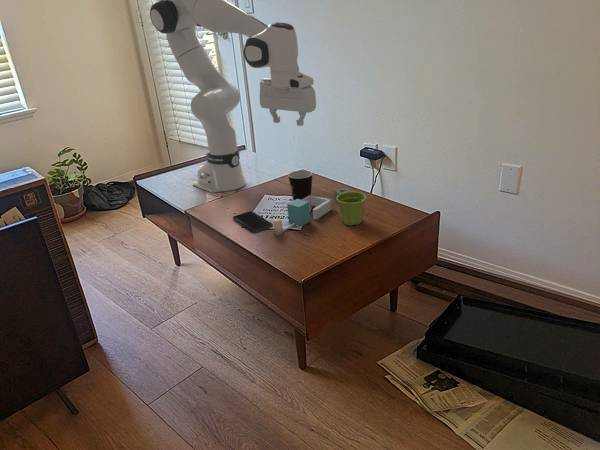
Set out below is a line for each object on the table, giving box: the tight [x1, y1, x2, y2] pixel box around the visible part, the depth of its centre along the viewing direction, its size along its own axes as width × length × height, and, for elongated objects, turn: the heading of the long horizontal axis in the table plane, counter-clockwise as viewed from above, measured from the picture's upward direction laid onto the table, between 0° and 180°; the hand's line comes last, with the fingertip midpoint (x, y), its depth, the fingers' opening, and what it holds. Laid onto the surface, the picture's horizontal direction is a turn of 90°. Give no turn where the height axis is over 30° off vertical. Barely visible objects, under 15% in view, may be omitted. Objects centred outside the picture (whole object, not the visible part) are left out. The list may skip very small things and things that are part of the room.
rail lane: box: [302, 194, 333, 220], centre depth 167 cm, size 9×10×4 cm
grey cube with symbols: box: [333, 187, 354, 208], centre depth 171 cm, size 5×5×5 cm
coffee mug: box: [288, 169, 313, 201], centre depth 177 cm, size 12×9×10 cm
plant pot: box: [336, 191, 367, 226], centre depth 156 cm, size 9×9×9 cm
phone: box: [232, 210, 274, 234], centre depth 163 cm, size 8×1×15 cm
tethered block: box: [272, 199, 311, 237], centre depth 156 cm, size 5×14×7 cm, turn 138°
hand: (288, 123), depth 156 cm, fingers open, 8 cm apart
